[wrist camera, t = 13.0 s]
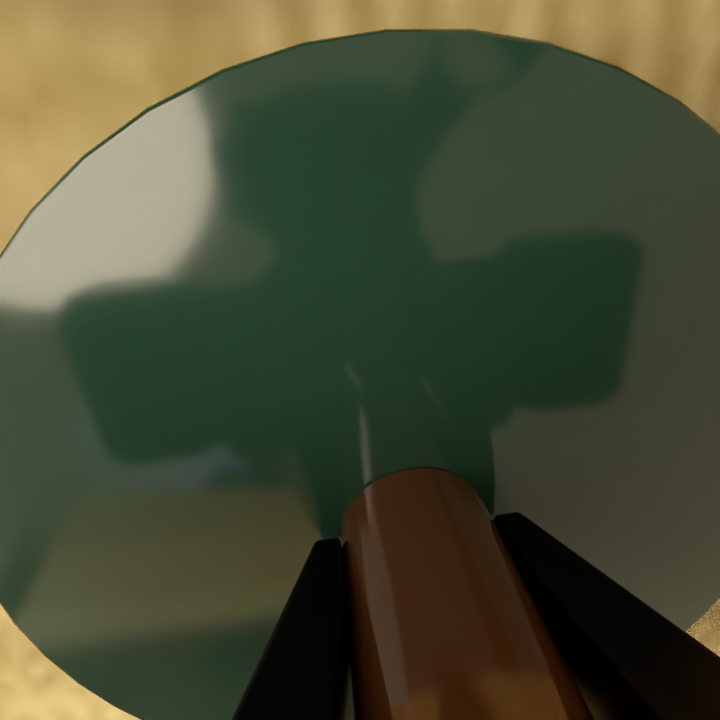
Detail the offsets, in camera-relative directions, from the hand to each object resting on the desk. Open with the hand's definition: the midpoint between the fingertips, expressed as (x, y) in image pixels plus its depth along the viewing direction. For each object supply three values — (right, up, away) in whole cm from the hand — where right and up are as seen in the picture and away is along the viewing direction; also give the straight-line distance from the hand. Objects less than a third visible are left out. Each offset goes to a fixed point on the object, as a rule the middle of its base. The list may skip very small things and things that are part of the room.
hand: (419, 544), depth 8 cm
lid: (0, 0, +1) cm, 1 cm away
